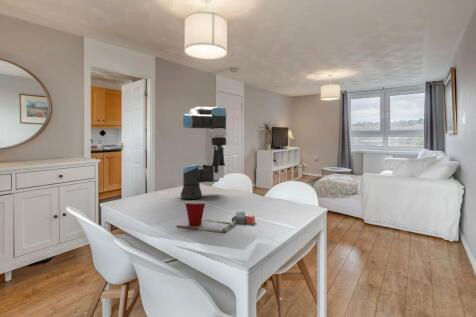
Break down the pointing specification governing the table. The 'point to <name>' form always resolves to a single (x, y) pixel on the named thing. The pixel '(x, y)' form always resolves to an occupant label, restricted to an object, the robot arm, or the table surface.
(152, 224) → the table surface
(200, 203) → the plastic cup
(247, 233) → the table surface
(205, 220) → the u-shaped frame
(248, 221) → the dome housing
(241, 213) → the dome
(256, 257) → the table surface
